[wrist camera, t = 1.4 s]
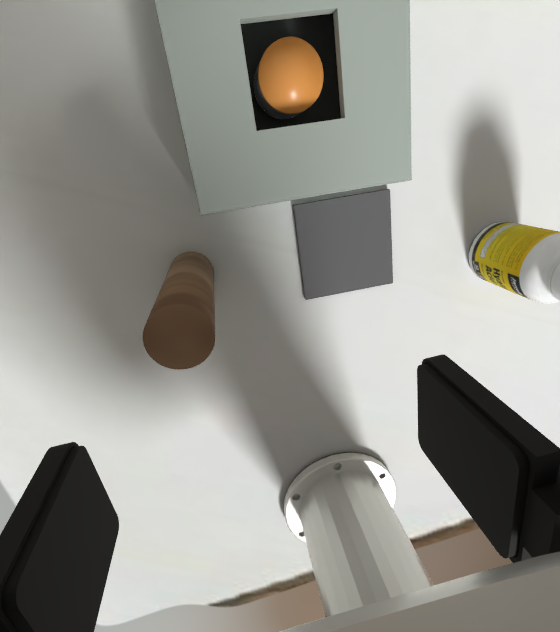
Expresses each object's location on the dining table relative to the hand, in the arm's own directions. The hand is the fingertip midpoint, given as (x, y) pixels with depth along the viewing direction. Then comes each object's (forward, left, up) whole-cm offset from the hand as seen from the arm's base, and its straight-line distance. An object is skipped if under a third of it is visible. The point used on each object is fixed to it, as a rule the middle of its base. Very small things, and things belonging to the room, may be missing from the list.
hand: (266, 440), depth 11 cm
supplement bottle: (-3, -24, -23) cm, 33 cm away
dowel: (0, +3, -22) cm, 23 cm away
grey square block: (+12, -6, -22) cm, 26 cm away
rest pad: (0, -10, -22) cm, 24 cm away
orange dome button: (+12, -6, -21) cm, 24 cm away
